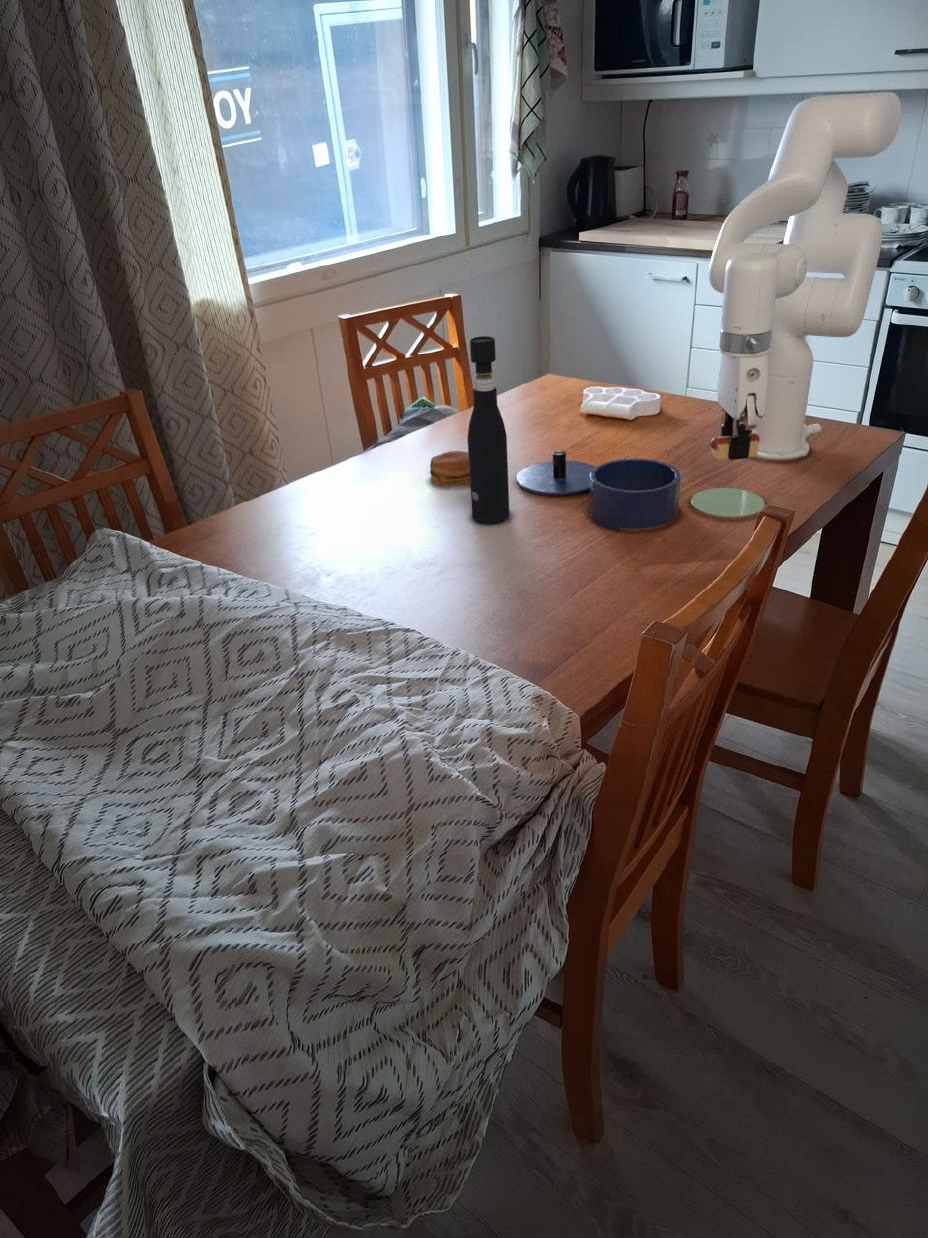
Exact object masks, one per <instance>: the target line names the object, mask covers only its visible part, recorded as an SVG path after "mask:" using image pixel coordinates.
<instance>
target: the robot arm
mask: <svg viewBox="0 0 928 1238" xmlns="http://www.w3.org/2000/svg"><path fill="white" fill-rule="evenodd" d="M901 120H902V104H901V100H900V98H899V96H898V95H897V94H896V93H895V92H893V91H879V92H862V93H861V92H859V93H840V94H825V95H818V96H814V97H810V98H807V99H803V100H802V101H800V102H798V103H797V105H796V106H795V107H794V108H793V109H792V111H791V114H790V115H789V117H788V120H787V123H786V126H785V128H784V131H783V134H782V137H781V140H780V143H779V145H778V149H777V152H776V154H775V158H774V162H773V164H772V167H771V169H770V173H769V174H768V178H767V180H766V182H764V183H763V184H761V185H760V186H759V187H757V188H756V189H755V190H753V191H752V192H751V193H749V194H748V195H747V196H746V197H745V198H744V199H743V200H742V201H740V202H739V203H738V204H737V206H735V207H734V208H733V209H732V211H731V212H730V213H729V214H728V216H727V217H726V218H725V220H724V222H723V224H722V226H721V228H720V231H719V234H718V236H717V238H716V242H715V245H714V248H713V251H712V254H711V258H710V262H709V266H708V267H709V268H708V281H709V284H710V286H711V288H712V289H713V290H714V291H716V292H718V293H720V294H723V296H722V309H721V321H720V333H719V344H718V352H719V353H720V354H721V359H720V364H719V365H720V366H719V372H718V380H717V381H718V382H717V403H718V404H719V405H720V406H721V411H722V415H721V420H720V421H721V429H720V437H722V436H730V444H729V454H728V458H729V459H728V460H730V461H734V460H744V459H745V460H746V459H748V458H750V457H749V449H750V440H751V436H752V434H757V435H758V436H759V438H760V440H759V445H758V454H757V456H755V457H756V458H759V459H760V458H761V459H766V460H791V459H797V458H800V457H803V458H804V457H806V456H807V455H808V454H809V452H810V444H809V443H808V442H807V441H806V439H807V438H809V436H813V435H817V434H820V433H821V431H822V426H821V425H820V424H819V423H813V424H809V425H806V423H805V421H806V414H807V408H808V400H809V395H810V387H811V381H812V374H813V368H814V354H813V351H812V349H811V347H810V344H809V343H808V341H807V339H806V338H805V336H807V337H808V336H811V337H812V336H814V337H825V338H848V337H851V336H853V335H855V334H856V333H857V332H858V331H859V329H860V328H861V325H862V323H863V320H864V317H865V314H866V309H867V306H868V302H869V299H870V294H871V291H872V287H873V286H872V285H873V282H874V278H875V274H876V270H877V266H878V263H879V258H880V253H881V249H882V243H883V242H882V241H883V227H882V223H881V221H880V219H879V218H878V217H877V216H875V215H873V214H868V213H860V212H859V213H851V212H850V213H849V212H848V213H845V212H844V207H845V203H846V198H847V195H848V190H849V186H848V185H849V184H848V180H847V179H846V176H845V174H844V172H843V171H842V169H841V168H840V165H838V163H837V162H836V161H835V160H834V159H854V158H855V159H856V158H857V159H858V158H860V159H861V158H872V157H875V156H877V155H879V154H881V153H882V152H884V151H886V150H887V149H888V148H889V147H890V146H891V145H892V144H893V141H895V138H896V136H897V134H898V132H899V129H900V125H901V122H902V121H901ZM787 219H788V221H787V226H786V230H785V234H784V239H783V242H782V243H767V242H745V241H746V240H747V239H748V238H749V237H750V236H751V235H753V234H754V233H756V232H757V231H759V230H762V229H764V228H766V227H768V226H770V225H774V224H776V223H778V222H781V221H783V220H787ZM807 273H817V274H841V275H842V276H844V277H843V278H840V277H839V278H837V277H818V276H807ZM742 414H744V415H742ZM741 422H743V423H741ZM740 423H741V424H740Z"/></svg>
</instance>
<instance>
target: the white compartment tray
mask: <svg viewBox="0 0 928 1238" xmlns="http://www.w3.org/2000/svg"><path fill="white" fill-rule="evenodd" d="M582 395H583V396H582V397H583V399H582V403H581V405H580V406H579V412H580V413H581V414H583V415H593V416H600V417H605V418H615V419H623V420H627V421H633V420H634V419H635V418H637V417H641V416H643V417H645V416H646V417H647V416H654V415H657V414H659V413H660V412H661V399H662V397H661V395H660V394H659V393H657V392H648V391H645V390H644V389H638V388H628V387H623V386H612V387H611V386H610V387H609V386H608V387H607V386H606V387H604V386H603V387H602V386H590V387H587V388H585V389H584V390H583V393H582Z"/></svg>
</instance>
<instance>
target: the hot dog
mask: <svg viewBox="0 0 928 1238" xmlns="http://www.w3.org/2000/svg"><path fill="white" fill-rule="evenodd" d="M759 440H760V438H759V436H758V435H757V434H752V436H751V440H750V449H749V457H748V458H753V457H756V456H757V454H758V445H759ZM729 444H730V436H722V437H721V436H715V437H713V438H711V440H710V453H711V455H713V456H714V458H715V459H716V461H721V460H730V459H729V458H728V454H729Z"/></svg>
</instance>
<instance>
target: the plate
mask: <svg viewBox="0 0 928 1238" xmlns="http://www.w3.org/2000/svg"><path fill="white" fill-rule="evenodd" d="M690 502H691V505H692V506H693V507H694V508H695V509H697V510H698V511H700V512H702V513H705V514H708V515H712V516H715V517H716V516H717V517H726V518H739V517H747V516H751V515H754V514H757V513H759V512H761V511H762V510H763V509H764V508H765V506H766V505H765V504H766V503H765V500H764V499H763V498H762V497H761V496H760V495H758V494H757V493H754V492H752V491H748V490H745V489H741V488H735V487H734V488H733V487H715V488H708V489H704V490H701V491H698V492H697V493H695V494H693V496H692V497H691V501H690Z"/></svg>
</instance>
